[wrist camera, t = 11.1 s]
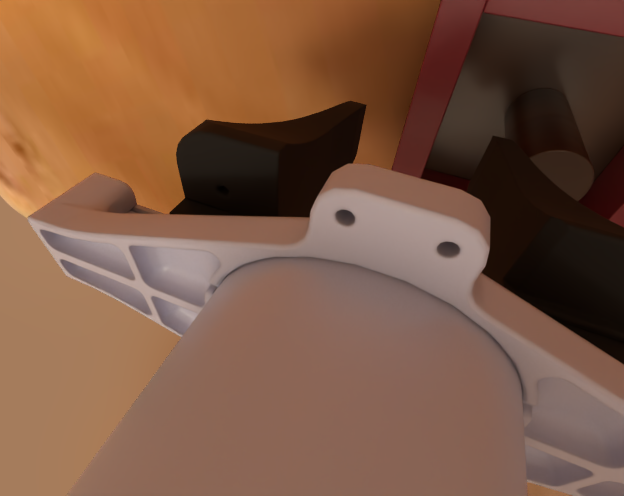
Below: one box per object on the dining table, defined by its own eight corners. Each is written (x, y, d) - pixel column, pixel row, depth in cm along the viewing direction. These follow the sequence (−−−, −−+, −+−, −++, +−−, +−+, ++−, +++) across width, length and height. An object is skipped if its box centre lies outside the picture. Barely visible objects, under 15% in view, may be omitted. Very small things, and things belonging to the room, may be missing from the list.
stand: (775, -8, 11) (956, 47, 7) (580, 217, 19) (606, 315, 14) (468, -52, 13) (454, -31, 9) (399, 168, 20) (373, 241, 16)
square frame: (810, -9, 10) (885, 11, 8) (584, 235, 18) (595, 276, 16) (461, -58, 12) (455, -50, 10) (390, 181, 20) (379, 211, 18)
